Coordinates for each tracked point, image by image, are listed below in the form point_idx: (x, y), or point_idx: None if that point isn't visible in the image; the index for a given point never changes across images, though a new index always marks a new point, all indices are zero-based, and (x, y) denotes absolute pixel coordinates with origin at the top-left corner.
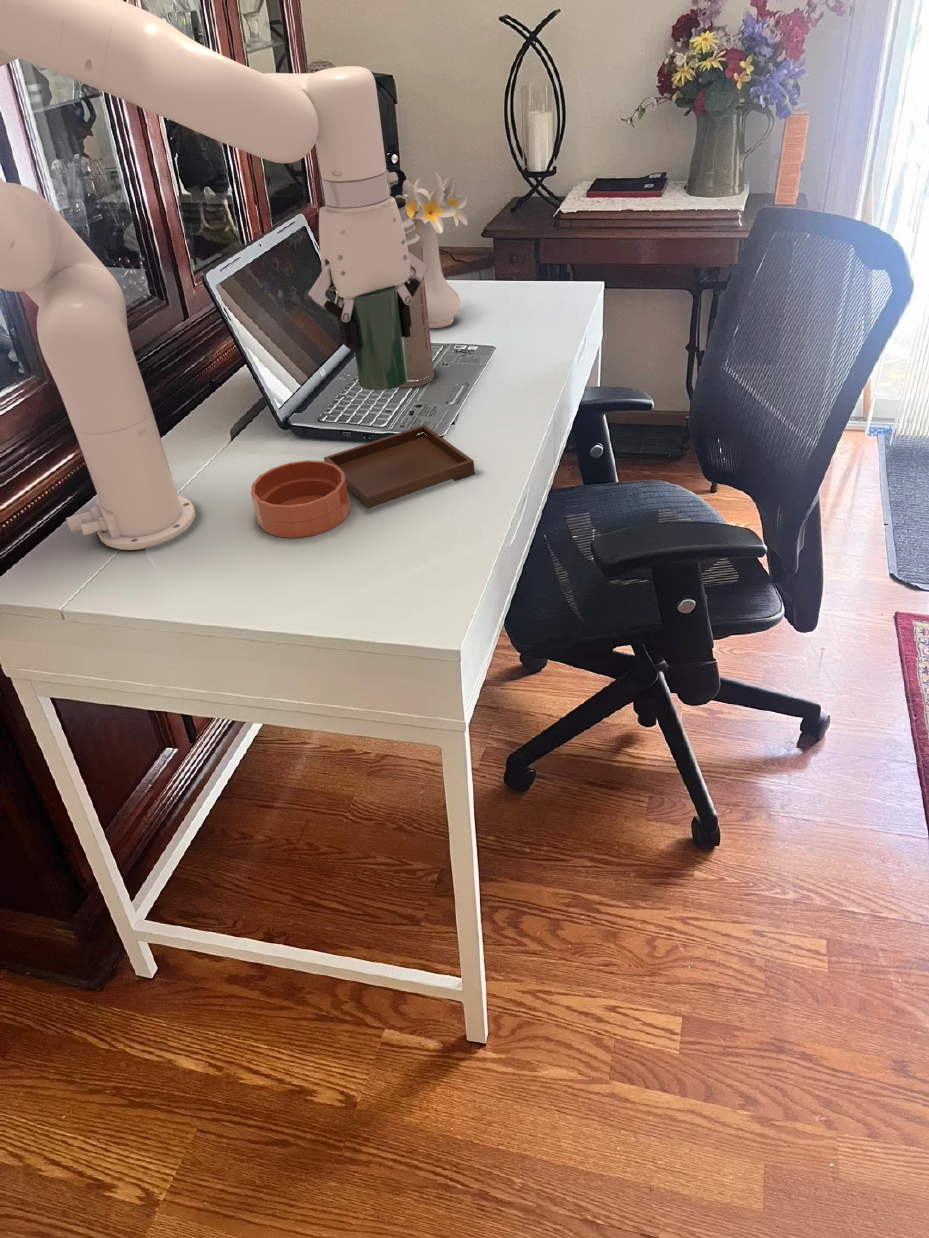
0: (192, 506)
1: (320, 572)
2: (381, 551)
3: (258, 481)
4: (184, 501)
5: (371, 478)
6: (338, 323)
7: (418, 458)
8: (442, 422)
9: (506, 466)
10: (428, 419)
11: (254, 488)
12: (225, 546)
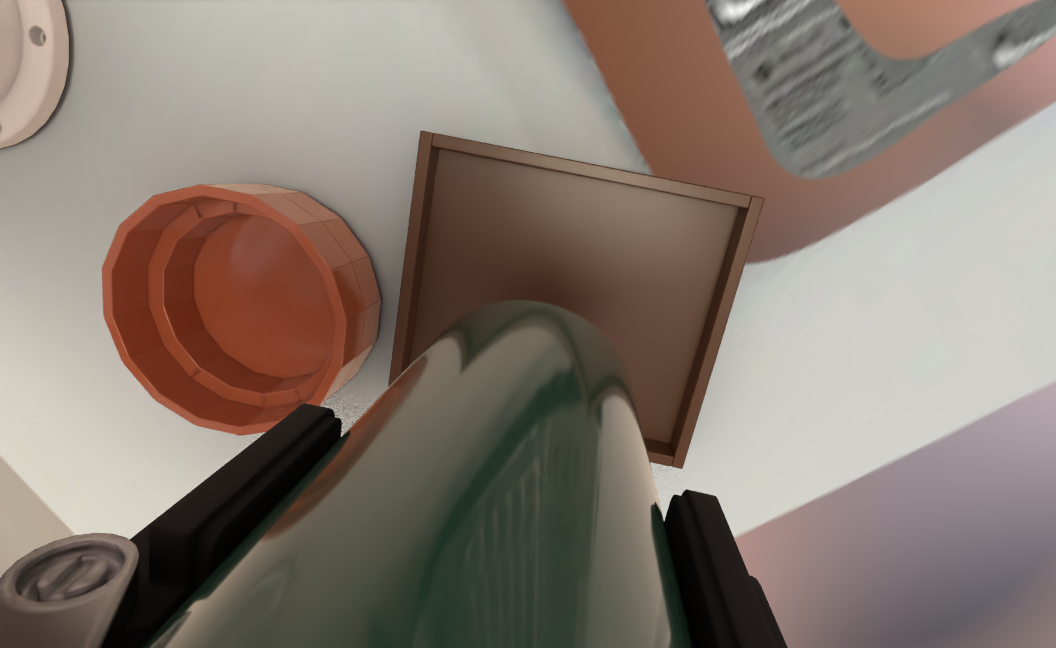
0: (48, 61)
1: None
2: None
3: (140, 222)
4: (37, 14)
5: (480, 288)
6: (136, 535)
7: (632, 300)
8: (861, 155)
9: (751, 482)
10: (854, 99)
11: (118, 250)
12: (93, 264)
